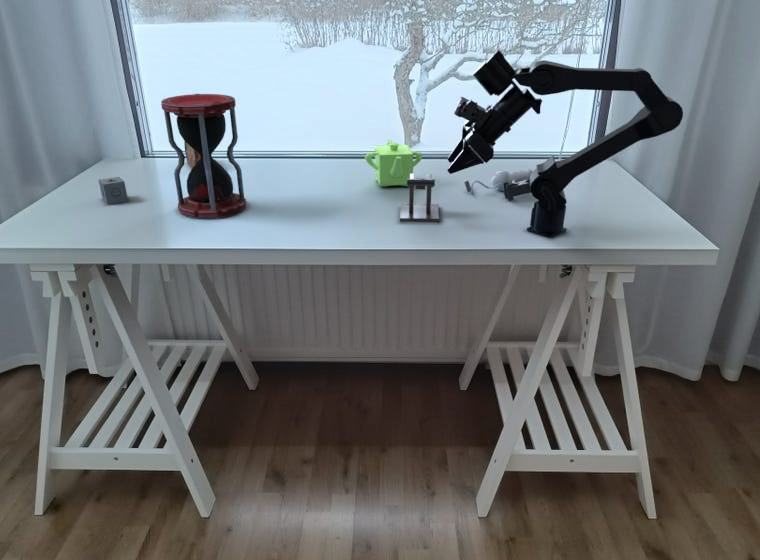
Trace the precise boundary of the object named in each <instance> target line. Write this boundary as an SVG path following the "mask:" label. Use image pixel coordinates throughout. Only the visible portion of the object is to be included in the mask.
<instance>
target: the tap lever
mask: <svg viewBox="0 0 760 560" xmlns="http://www.w3.org/2000/svg"><path fill="white" fill-rule="evenodd" d="M407 186H414V187H415V190H416V191H417V190H418V191H425V190H426V187H427V186H434V187H435V186H436V179H433V178H432V179H427V178H420V177H419V178H414V179H407ZM407 186H406V187H407Z"/></svg>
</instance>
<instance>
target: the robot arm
mask: <svg viewBox="0 0 760 560" xmlns="http://www.w3.org/2000/svg"><path fill="white" fill-rule="evenodd" d="M472 77H473V78H474V79H475V80H476V82H478V83H479V85H480V86H481V87H482V89H484V91H485V92H486V93H487V94H488V95H489V96H493V95H494V96H497V97H499V96H500V95H502V94H503V93H504V94H503V95H502V96H501V97H499V99H498V100H497V101H496V102H494V103H493V104H488V105H487V106H486V107H485V108H484V107H483V106H481V105H479V104H478V102H477V101H476V102H475V101H474V100H473V99H467V98H465V97H464V96H460V97H459V100H458V102H457V103H456V106H455V107H454V110H453V114H454V115H455V116H456V117H458V118H462V119H464V120H465V121H464V122H463V125H461V126H462V127H461V137H460V138H459V141H458V142H457V144H456V145H455V147H454V148H453V150H452V151H451V153H450V154H449V156H448V157H447V159H446V160H447V161H448V162H449V163H450V165H449V167H448V168H447V173H449V175H453V174H455V173H458V172H460V171H464V170H467V169H468V168H472V167H475V166H478V165H483V164H487V163H488V162H490V161H491V160H492V159H493V158H494V154H495V149H494V146H495V145H496V141H498V139H500V138H501V137H502V136H503V135H504V134H506V133H507V134H508V133H509V132H510V131H511V130H512V128H511V127H512V126H514V125H515V124H516V123H517V122H518V121H519V120H521V118H522V117H523V116H524V115H525V114H526V113H527V112H529V111H530V110H531V109H532V110H533V112H535V114H536V115H540V114H541V106H542V103H543V100H542V98H536V97H535V96H534V95H533V94H535V95H537V96H547V95H556V94H561V93H564V92H569V91H575V90H579V91H580V90H581V91H613V92H634V93H635V95H636V96H637V98H638V99H639V101H640V102H641V104H642V105H643V107H642V108H641V109H640V110H638V111H637V113H636V114H635V115H634V116H633V117H631V119H630V120H629V121H628V122H626V123H624V124H623V125H621V126H619V127H617V128H616V129H614V130H612V131H611V132H609V133H607V134H605V135H604V136H602V137H601V138H599V139H597V140H596V141H594V142H592V143H591V144H588V145H587V146H585V147H584V148H582V149H580V150H579V151H576V152H575V153H574V154H571V155H570V156H568V157H567V158H564V159H561V160H556V159H555V156H554V155H551V156H550V157H549V158H547V160H546V161H544V162H542V163H539V164H536V165H535V167H536V168H535V169H534V170H532V173H531V176H530V179H529V183H530V190H531V193H530V194H531V196H532V197H533V198H534V199H536V200H535V201H534V204H533V207H531V214H530V221H529V227H527V228H526V231H527V232H531V233H534V234H536V235H540V236H543V237H546V238H553V237H555V236H558V235H561V234H563V233H565V232H567V230H568V228H565V227H564V225H565V218H566V217H565V216H566V211H567V205H566V204H567V198H566V194H565V188H567V187H568V186H569V184H570V183H571V182H572V181H573V180H574V179H575V178H576V177H579V176H580V175H582V174H584V173H585V172H587V171H589V170H591V169H592V168H594V167H596V166H598V165H599V164H601V163H603V162H604V161H606V160H608V159H610V158H612V157H614V156H615V155H617V154H619V153H620V152H622V151H623V150H626V149H627V148H629V147H631V146H633V145H634V144H636V143H638V142H640V141H644V140H648V139H651V138H656V137H659V136H662V135H664V134H667V133H670V132H672V131H674V130H676V129H677V128H678V127H679V126H680V125H681V122H682V120H683V117H684V111H683V107H682V106H681V104H680V103H678V102H677V101H675V100H674V99H673V98H671V97H670V96H668V95H667V96H666V95H665V93H664V92H663V91H662V90H661V88H660V87H659V85H658V84H657V83H656V82H655V81H654V79H653V78H652V75H651V73H650V72H648V71H647V70H646V69H644V68H641V67H637V68H598V67H597V68H596V67H574V66H572V65H571V66H570V65H567V64H564V63H558V62H554V61H550V60H545V59H544V60H543V59H542V60H538V61H536V62H534V64H532V65H531V66H529V67H523V68H521V67H520V68H516V69H515V68H513V66H512V65H511V63H510V62H509V61H508V60H507V59H506V58H505V55H504V54H503V52H502V51H501V50H500V49H497V50H496V51H495V52H494V53H493V54H492V55H491V56H489V57H488V58H487V59H484V61H483V62H482V63H481V64H480V65H479V66H478V67H477V68H476V69H475V71H474V72H473V73H472ZM514 80H515V81H516V82H517V83H516V82H515V81H514ZM517 84H518V85H520V86H522V87H527V88H524V89H523V90H522V89H521V88H520V87H519V86H518V85H517ZM510 86H511V87H510ZM508 88H509V89H508ZM529 88H530V90H531V91H532V92H533V93H532V92H531V91H530V90H529ZM506 90H507V91H506ZM505 91H506V92H505Z"/></svg>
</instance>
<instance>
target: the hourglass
mask: <svg viewBox="0 0 760 560" xmlns="http://www.w3.org/2000/svg"><path fill="white" fill-rule="evenodd" d="M160 102H161V103H160V104H161V105H160V106H161V109H162V111H163V115H164V120H165V126H166V133H167V139H168V143H169V145H170V147H171V148H172V149H173V150H175V152H176V154H177V157H178V164H177V166H176V167H175V169H174V173H173V176H174V181H175V187H176V194H177V201H178V203H177V208H178V209H177V210H178V212H179V213H180V214H181V215H183V216H185V217H188V218H193V219H219V218H225V217H230V216H234V215H237V214H239V213H242V212H243V211H244V210H245V209H246V208H247V198H245V189H244V182H243V171H242V168H241V166H240V164H239V163H238V162H237V161H236V160H235V157H234V148H235V146H236V145H237V142H238V138H239V136H238V127H237V118H236V117H237V116H236V109H235V108H236V98H235V97H234V96H233V95H232V96H231V95H227V94H220V93H192V94H183V95H174V96H170V97H166V98H164V99H162V100H161V101H160ZM227 111H229V117H230V125H231V135H232V138H231V141H230V144H229V145H228V146H227V149H226V156H227V159H228V162H229V164H231V165H233V167H234V169H235V171H236V176H237V177H236V179H237V188H238V193H235V192H234V183H233V179H232V177H231V175H230V173H229V172H228V171H227V169H226V168H224V166H223V165H221V163H220V162H219V161H217V160H216V159H215V158H214V157H213V156H212V154H213V153H214V152H215V150H216V149H217V148H218V146H220V144H221V142H222V141H223V139H224V136H225V134H226V129H227V126H226V125H227V122H226V117H225V114H226V112H227ZM171 113H172V114H174V116H176V126H177V129H178V133H179V135H180V136H181V138H182V139H183V142H184V141H185V142H186V143H187V144H188V145H189V146H190V147H192V148H193V149H194V150H195V151H196V152H197V153H199V154H200V159H199V161H198V162H197V163H196V164H195V166H194V167H193V168H191V170H190V171H189V173H188V176H187V179H186V190H187V195H188V196H186V197H184V196H183V189H182V182H181V176H180V175H181V170H182V169H183V167H185V162H186V161H185V160H186V155H185V154H184V151H183V150H182V149H181V148H180V147H179V146H178V145H177V143H176V141H175V137H174V132H173V125H172V118H171Z"/></svg>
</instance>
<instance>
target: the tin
mask: <svg viewBox="0 0 760 560" xmlns="http://www.w3.org/2000/svg"><path fill="white" fill-rule="evenodd" d="M183 142H184V143H183V144H184V153H185V154H184V155H185V160H186V163H187V165H188V166H189V168H191V169H192V168H193V167H194V166H195V164H196V163H197V162H198V161H199V159H200V154H199V153H197V152H196V151H195V150H194V149H193V148H192V147H190V146H189V145H188V144H187V143H186V142H185V141H184V140H183Z"/></svg>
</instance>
